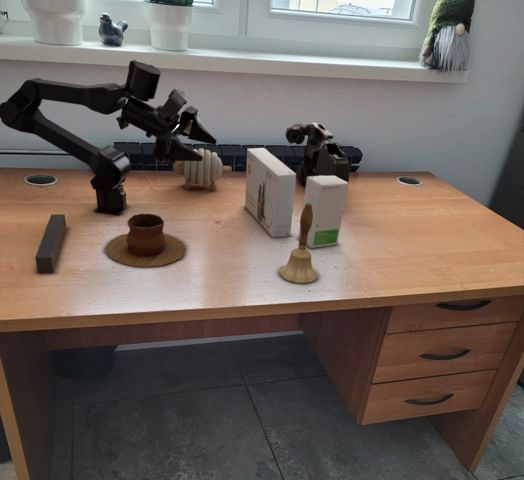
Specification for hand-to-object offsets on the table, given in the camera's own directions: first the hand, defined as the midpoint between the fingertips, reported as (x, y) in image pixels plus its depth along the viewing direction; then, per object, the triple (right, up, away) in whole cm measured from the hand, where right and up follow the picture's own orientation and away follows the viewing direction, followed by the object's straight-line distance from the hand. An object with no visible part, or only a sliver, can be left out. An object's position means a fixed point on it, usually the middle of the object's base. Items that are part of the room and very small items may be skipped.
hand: (209, 150), depth 119 cm
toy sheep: (-6, +1, +33) cm, 33 cm away
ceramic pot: (-14, -24, -2) cm, 28 cm away
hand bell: (+20, -30, -6) cm, 37 cm away
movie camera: (+29, +3, +40) cm, 49 cm away
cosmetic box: (+26, -19, +9) cm, 34 cm away
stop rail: (-34, -24, -6) cm, 42 cm away
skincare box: (+13, -12, +17) cm, 25 cm away
